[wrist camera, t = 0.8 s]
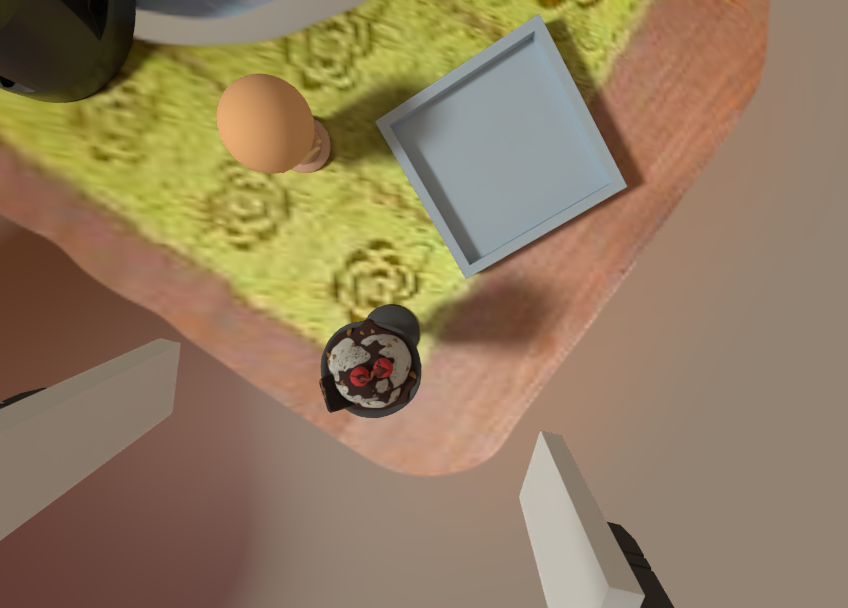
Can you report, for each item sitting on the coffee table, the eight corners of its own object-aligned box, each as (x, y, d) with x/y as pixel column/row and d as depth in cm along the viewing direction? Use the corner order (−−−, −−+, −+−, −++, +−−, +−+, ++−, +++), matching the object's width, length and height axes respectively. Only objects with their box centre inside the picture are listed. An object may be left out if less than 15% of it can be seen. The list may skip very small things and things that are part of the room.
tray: (379, 127, 35) (374, 121, 33) (534, 25, 33) (539, 13, 31) (465, 276, 37) (466, 279, 35) (617, 188, 35) (627, 186, 33)
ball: (227, 120, 32) (176, 96, 26) (295, 72, 31) (258, 37, 25) (273, 193, 32) (234, 187, 27) (341, 149, 32) (316, 132, 26)
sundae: (431, 297, 38) (419, 345, 23) (426, 371, 39) (410, 462, 24) (355, 290, 38) (296, 334, 23) (352, 364, 39) (293, 450, 25)
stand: (268, 135, 36) (240, 122, 31) (312, 106, 35) (290, 88, 31) (297, 183, 37) (274, 177, 32) (341, 154, 36) (324, 144, 31)
